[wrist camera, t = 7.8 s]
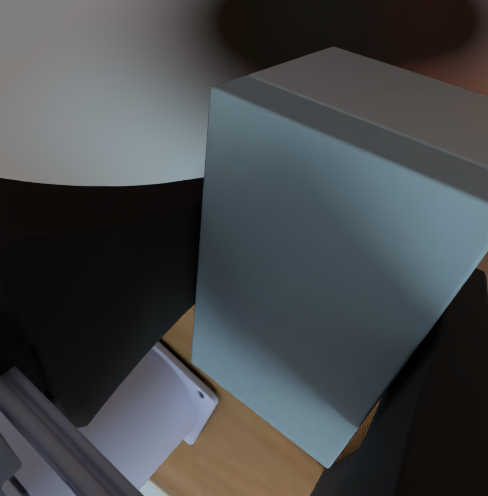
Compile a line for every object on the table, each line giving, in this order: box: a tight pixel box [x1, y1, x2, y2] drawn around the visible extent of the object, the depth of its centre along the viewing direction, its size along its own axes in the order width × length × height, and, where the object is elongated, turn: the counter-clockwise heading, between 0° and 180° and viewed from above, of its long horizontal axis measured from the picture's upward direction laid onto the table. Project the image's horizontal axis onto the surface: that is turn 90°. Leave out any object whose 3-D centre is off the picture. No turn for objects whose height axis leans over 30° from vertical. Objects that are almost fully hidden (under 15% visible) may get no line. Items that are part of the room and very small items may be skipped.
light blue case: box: [191, 47, 488, 468], centre depth 9 cm, size 5×8×4 cm, turn 171°
